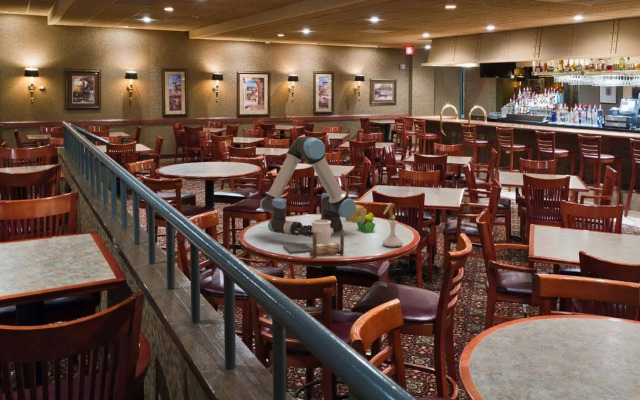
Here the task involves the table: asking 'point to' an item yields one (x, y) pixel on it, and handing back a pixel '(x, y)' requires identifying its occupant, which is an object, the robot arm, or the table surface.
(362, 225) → the fruit basket
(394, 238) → the flower in vase
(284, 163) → the robot arm
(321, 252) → the board rack
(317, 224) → the jar
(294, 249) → the mat
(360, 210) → the cheese
